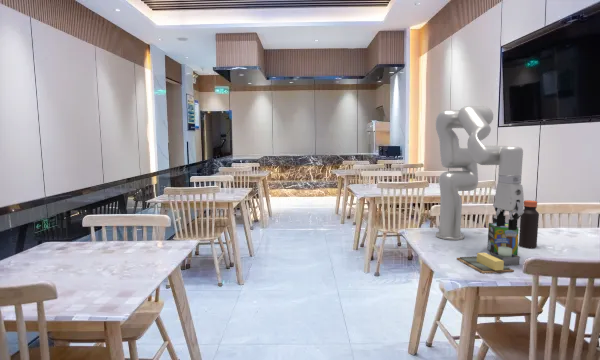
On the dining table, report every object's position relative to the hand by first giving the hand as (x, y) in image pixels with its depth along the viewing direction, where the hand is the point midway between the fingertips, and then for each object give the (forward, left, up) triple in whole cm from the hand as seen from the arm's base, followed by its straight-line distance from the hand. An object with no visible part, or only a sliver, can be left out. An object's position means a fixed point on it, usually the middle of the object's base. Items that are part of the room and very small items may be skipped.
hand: (506, 227), depth 141 cm
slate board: (+2, -10, -14) cm, 17 cm away
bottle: (-18, +25, -14) cm, 34 cm away
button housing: (0, 0, -14) cm, 14 cm away
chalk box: (-12, +8, -14) cm, 20 cm away
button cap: (0, 0, -12) cm, 12 cm away
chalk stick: (+11, -10, -11) cm, 18 cm away
